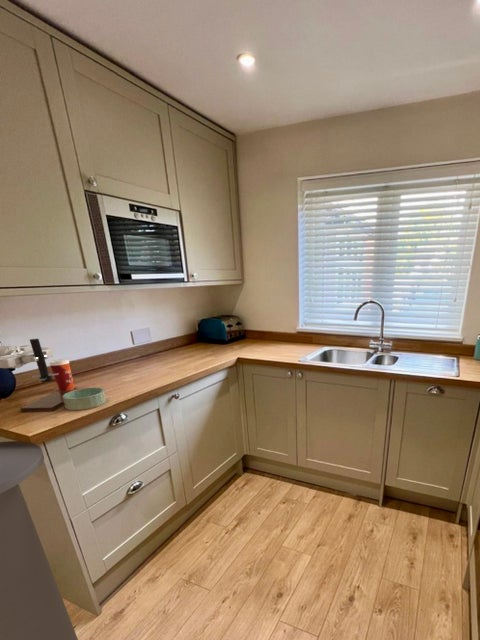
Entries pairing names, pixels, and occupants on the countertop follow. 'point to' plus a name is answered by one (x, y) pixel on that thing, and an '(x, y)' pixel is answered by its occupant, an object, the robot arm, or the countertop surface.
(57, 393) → the cutting board
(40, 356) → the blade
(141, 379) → the countertop surface
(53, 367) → the paper cup
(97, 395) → the green bowl
